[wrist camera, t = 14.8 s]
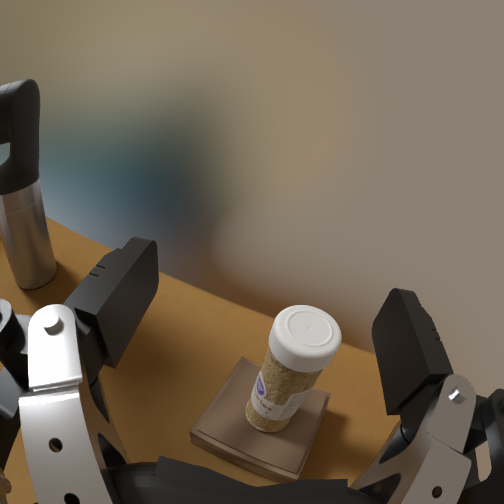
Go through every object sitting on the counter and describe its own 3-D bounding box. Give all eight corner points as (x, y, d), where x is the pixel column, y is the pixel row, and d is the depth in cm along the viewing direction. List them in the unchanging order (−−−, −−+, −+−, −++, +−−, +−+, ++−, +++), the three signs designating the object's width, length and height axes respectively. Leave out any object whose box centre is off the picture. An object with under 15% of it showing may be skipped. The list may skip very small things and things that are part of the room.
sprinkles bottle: (236, 404, 24) (260, 312, 17) (275, 389, 27) (315, 295, 19) (259, 441, 21) (302, 367, 14) (299, 422, 23) (357, 339, 16)
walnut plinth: (190, 441, 23) (189, 430, 21) (238, 373, 32) (242, 354, 30) (287, 485, 20) (298, 479, 18) (320, 407, 29) (332, 392, 27)
